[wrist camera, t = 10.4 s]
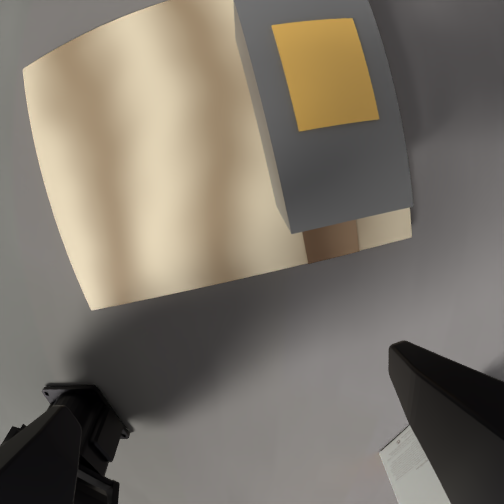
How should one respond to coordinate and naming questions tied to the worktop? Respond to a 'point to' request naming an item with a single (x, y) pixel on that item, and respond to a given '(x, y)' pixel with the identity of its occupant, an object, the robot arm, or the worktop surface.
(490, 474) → the robot arm
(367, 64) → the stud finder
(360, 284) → the worktop surface
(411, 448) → the small box
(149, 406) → the worktop surface
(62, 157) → the board
